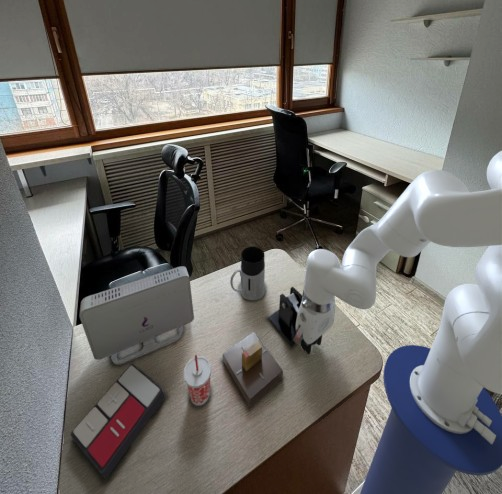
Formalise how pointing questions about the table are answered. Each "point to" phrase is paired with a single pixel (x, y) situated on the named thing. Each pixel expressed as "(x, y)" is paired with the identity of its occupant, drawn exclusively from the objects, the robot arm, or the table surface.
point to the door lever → (296, 309)
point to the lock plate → (252, 370)
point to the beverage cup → (198, 379)
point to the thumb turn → (251, 356)
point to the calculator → (118, 419)
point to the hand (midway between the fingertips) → (310, 344)
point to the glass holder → (251, 273)
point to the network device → (137, 314)
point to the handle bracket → (286, 317)
